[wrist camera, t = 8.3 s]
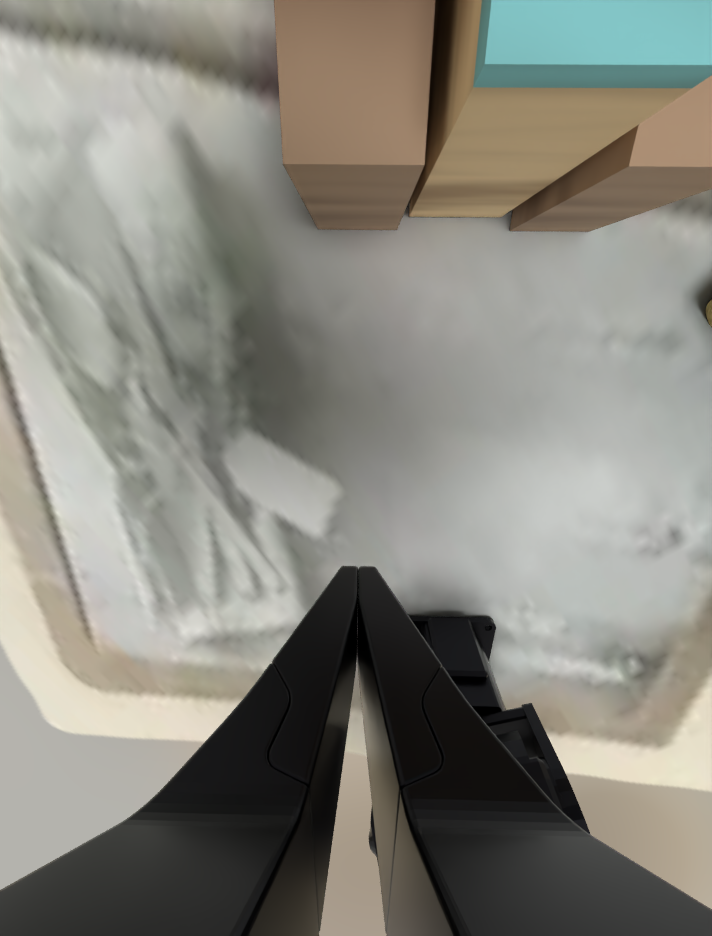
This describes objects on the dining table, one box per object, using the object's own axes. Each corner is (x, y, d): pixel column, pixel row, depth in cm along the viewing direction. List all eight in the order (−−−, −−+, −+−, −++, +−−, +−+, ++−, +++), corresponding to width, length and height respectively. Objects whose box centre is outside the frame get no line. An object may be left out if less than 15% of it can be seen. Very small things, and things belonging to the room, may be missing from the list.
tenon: (500, 217, 16) (726, 65, 6) (409, 216, 16) (484, 64, 6) (526, 26, 14) (959, -721, 4) (419, 26, 14) (568, -713, 4)
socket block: (589, 231, 16) (773, 167, 9) (318, 229, 17) (282, 164, 9) (645, -30, 13) (997, -452, 6) (311, -30, 13) (250, -444, 6)
